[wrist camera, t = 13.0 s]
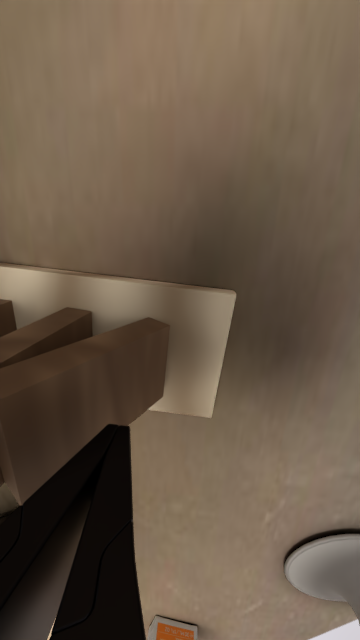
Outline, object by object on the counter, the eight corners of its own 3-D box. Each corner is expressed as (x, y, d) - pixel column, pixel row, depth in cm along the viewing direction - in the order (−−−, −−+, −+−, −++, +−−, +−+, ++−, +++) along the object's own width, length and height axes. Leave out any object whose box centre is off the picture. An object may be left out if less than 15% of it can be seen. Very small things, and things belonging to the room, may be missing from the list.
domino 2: (169, 325, 12) (-5, 401, 6) (163, 396, 14) (23, 510, 8) (148, 316, 13) (-25, 377, 7) (144, 385, 15) (4, 481, 9)
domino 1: (91, 311, 13) (-76, 406, 6) (94, 381, 15) (-30, 520, 8) (66, 307, 13) (-125, 393, 6) (72, 376, 15) (-69, 507, 8)
